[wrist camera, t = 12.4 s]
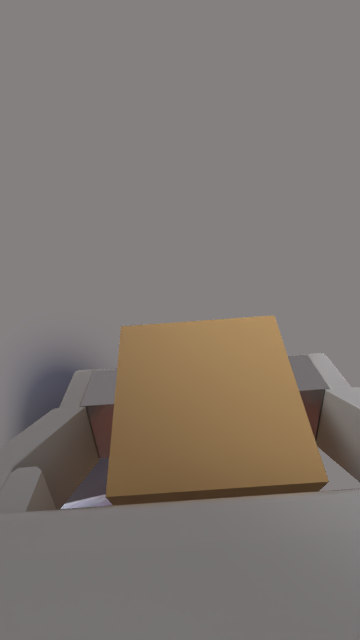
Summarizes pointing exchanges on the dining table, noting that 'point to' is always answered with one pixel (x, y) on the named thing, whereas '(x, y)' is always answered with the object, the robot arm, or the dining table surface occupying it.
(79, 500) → the dining table surface
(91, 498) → the dining table surface
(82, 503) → the dining table surface
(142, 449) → the ochre bar
